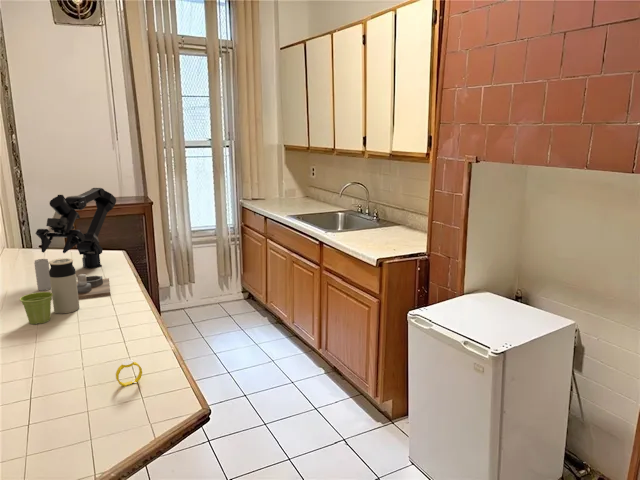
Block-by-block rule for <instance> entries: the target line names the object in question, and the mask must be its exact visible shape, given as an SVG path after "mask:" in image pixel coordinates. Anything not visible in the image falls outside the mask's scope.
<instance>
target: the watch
mask: <svg viewBox="0 0 640 480" xmlns="http://www.w3.org/2000/svg"><path fill="white" fill-rule="evenodd" d="M132 366H137V367H138V375H137V376H136V378H134V380H135V381H134V382H137V383H138V382H139V381H140V380H141V378H142V377H143V376H142V375H143V370H142V366H140V364H139V363H138V362H135V361H134V360H133V359H126V360H124V361H122V362H121V365H119V366H118V368H117V370H116V372H115V379H116V381H117V383H119V385H120V386H122V387H127V385H128V386H131V385H133V384H132V383H134V382H132V381H133V380H130V381H126V382H122V381H120V379H119V377H120V374H121V372H122V370H123V369H125V368H131V367H132ZM130 384H131V385H130Z"/></svg>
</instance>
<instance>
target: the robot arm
mask: <svg viewBox="0 0 640 480" xmlns="http://www.w3.org/2000/svg"><path fill="white" fill-rule="evenodd" d="M92 201H94V202H95V206H96V209H95V212H94V214H93V216H92V217H93V218H92V219H91V221H90V225H89V226H88V229H87V231H86V232H85V233H83V232H82V231H81V230H80V229H75V226H74V225H75V222H76V220H78V219H79V220H80V218H81V217H80V214H79V212H77V211H82V210H83V209H85V208H86V207H87V204H88V203H90V202H92ZM116 203H117V199H116V197H115V196H114V195H113V194H112V193H110V192H109V191H107V190H106V189H104V188H102V187H93V188H91V189H88V190H87V191H85V192H82V193H80V194H78V195H71V196H66V197H65V196H64V195H63V194H57V196H55V197H53V198H52V199H51V200H50V201H49V206H50V207H51V208H52V209H53V210H54V212H55V213H56V214H57V215H59V216H60V217H59V218H55V217H54V218H53V217H52V218H50V217H48V218H47V219H46V220H47V221H46V225H45V226H46V227H50V230H52V231H50V230H49V229H48V228H38V229H36V230H35V235H36V236H37V237H38V238H39V239H40V240H41V253H42V254H43V253H45V252H46V250H47V249H48V248H49V246H50V245H51V243H52V240H54V238H65V239H66V241H65V245H63V250H62V253H63V254H66V253H68V251H70V250H71V249H72V248H74V247H75V246H76V248H77V250H78V254H79V255H82V258H81V259H82V267H84V268H85V269H87V270H88V269H93V268H94V269H95V268H100V267H102V266H103V265H102V264H101V258H100V257H101V256H100V255H102V254H103V251H104V250H103V247H102V246H101V245H100V241H99V234H100V232H101V229H102V227H103V225H104V222H105V219H106V216H107V215H108V213H109V212H110V211H112V210H113V209H114V207H115V205H116Z"/></svg>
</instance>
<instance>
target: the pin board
mask: <svg viewBox="0 0 640 480" xmlns="http://www.w3.org/2000/svg"><path fill="white" fill-rule="evenodd" d="M76 279H77V290H78V299H79V300H83V299H88V298H89V299H90V298H98V297H105V296H111V294H112V293H111V287H110V278H109V277H108V278H107V277H105V278H103V275H88V276H87V274H86V273H80V274H76Z"/></svg>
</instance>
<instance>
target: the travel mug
mask: <svg viewBox="0 0 640 480" xmlns="http://www.w3.org/2000/svg"><path fill="white" fill-rule="evenodd" d="M48 262H49V270H50V271H49V275H50V283H51V289H50V291H51V293H52V294H53V296H52V306H53V312H54V313H55V314H60V315H61V314H62V315H63V314H71V313H74V312H76V311H77V310H79V309H80V302H79V301H80V299H78V290H77V282H78V280H77V274H76V273H77V272H76V268H75V267H74V265H73V262H74V259H73V258H69V257H67V258H66V257H65V258H63V257H62V258H57V259H52V260H50V261H48Z"/></svg>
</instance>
